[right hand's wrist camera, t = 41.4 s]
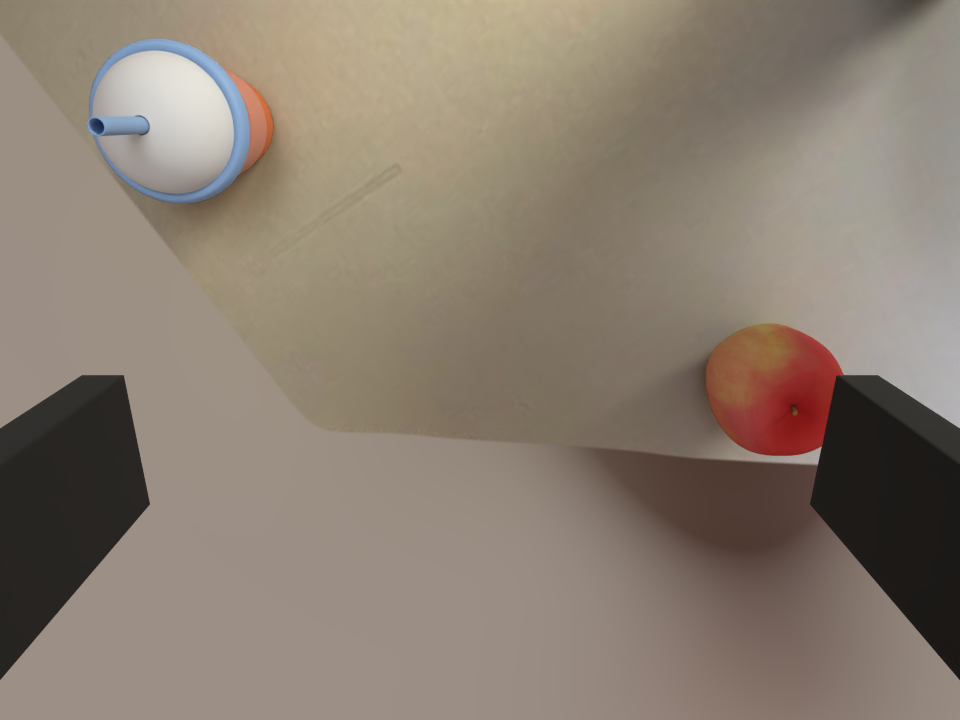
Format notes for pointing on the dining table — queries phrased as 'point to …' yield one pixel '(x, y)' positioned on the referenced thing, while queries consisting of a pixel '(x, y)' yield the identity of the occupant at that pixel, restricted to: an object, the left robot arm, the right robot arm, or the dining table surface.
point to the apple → (772, 389)
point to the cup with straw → (176, 121)
